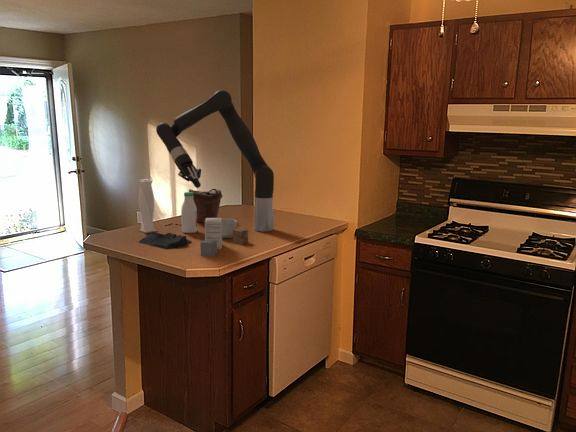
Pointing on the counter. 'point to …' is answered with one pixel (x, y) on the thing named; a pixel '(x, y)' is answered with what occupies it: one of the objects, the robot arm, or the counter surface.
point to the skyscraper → (146, 205)
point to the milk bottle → (189, 214)
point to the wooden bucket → (207, 204)
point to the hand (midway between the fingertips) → (198, 186)
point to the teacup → (228, 227)
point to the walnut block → (240, 236)
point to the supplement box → (214, 230)
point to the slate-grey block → (208, 247)
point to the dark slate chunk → (165, 240)
